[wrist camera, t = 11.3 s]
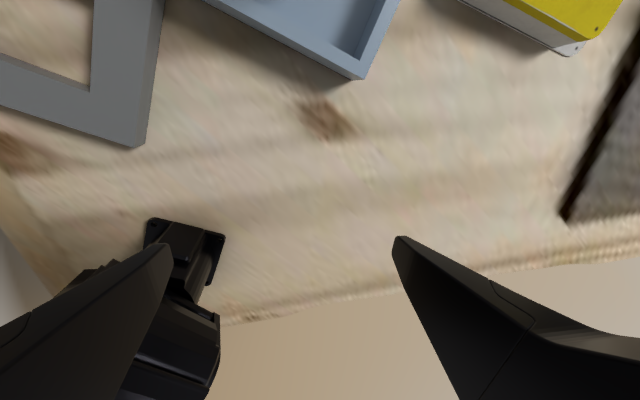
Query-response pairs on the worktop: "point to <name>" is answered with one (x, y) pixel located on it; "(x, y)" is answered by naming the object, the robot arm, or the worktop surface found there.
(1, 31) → the worktop surface
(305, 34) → the parts tray
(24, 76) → the grey square frame
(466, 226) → the worktop surface
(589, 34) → the emergency button
